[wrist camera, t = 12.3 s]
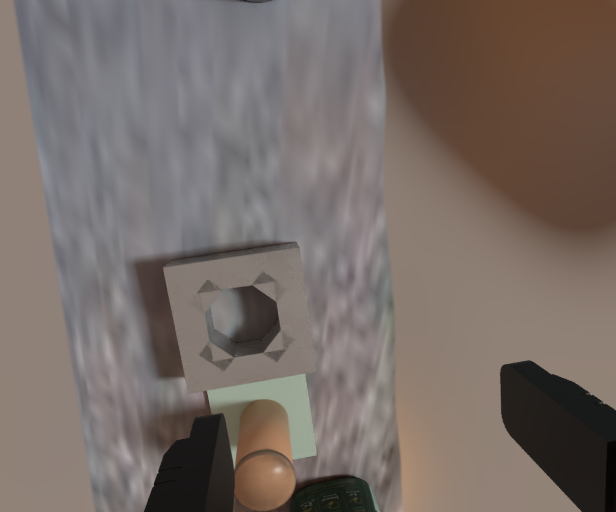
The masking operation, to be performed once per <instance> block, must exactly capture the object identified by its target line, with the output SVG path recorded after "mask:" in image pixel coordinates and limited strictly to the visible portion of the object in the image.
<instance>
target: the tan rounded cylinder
mask: <svg viewBox="0 0 616 512" xmlns="http://www.w3.org/2000/svg"><path fill="white" fill-rule="evenodd" d="M234 474H235V489H234V496H235V498H236V499H237V500H238V502H239V503H240V504H242V505H243V506H244V507H246V508H248V509H251V510H254V511H270V510H273V509H276V508H278V507H280V506H282V505H283V504H284V503H285V502H287V501H288V499H289V498H290V497H291V495H292V494H293V492H294V489H295V485H296V477H295V470H294V467H293V459H292V450H291V440H290V430H289V420H288V414H287V412H286V410H285V408H284V407H283V406H282V405H281V404H279V403H278V402H276V401H274V400H270V399H261V400H257V401H254V402H252V403H251V404H249V405H248V406H247V407H246V408H245V409H244V411H243V412H242V414H241V417H240V424H239V433H238V443H237V452H236V461H235V469H234Z"/></svg>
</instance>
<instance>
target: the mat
mask: <svg viewBox="0 0 616 512" xmlns="http://www.w3.org/2000/svg"><path fill="white" fill-rule="evenodd" d="M207 394H208V399H209V404H210V409H211V414H218V413H223V414H224V417H225V421H226V426H227V431H228V437H229V442H230V447H231V453H232V458H233V464H234V469H235V461H236V452H237V443H238V433H239V424H240V417H241V414H242V412H243V411H244V409H245V408H246V407H247V406H248V405H249V404H251V403H252V402H254V401H257V400H261V399H270V400H274V401H276V402H278V403H279V404H281V405H282V406H283V407H284V408H285V410H286V412H287V414H288V420H289V430H290V440H291V450H292V459H293V460H295V459H300V458H305V457H311V456H316V455H317V453H316V446H315V439H314V432H313V425H312V418H311V411H310V404H309V397H308V390H307V383H306V376H305V374H300V375H295V376H289V377H283V378H277V379H272V380H266V381H260V382H254V383H249V384H243V385H237V386H231V387H225V388H220V389H214V390H208V391H207Z"/></svg>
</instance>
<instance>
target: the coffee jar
mask: <svg viewBox="0 0 616 512" xmlns="http://www.w3.org/2000/svg"><path fill="white" fill-rule="evenodd" d="M290 512H380V511H379V507H378V504H377V501H376V497H375V495H374V492H373V490H372V488H371V486H370V485H369V484H368V483H367V482H366V481H364V480H362V479H360V478H341V479H333V480H328V481H324V482H320V483H316V484H313V485H310V486H307V487H305V488H303V489H301V490H300V491H299V492H297V493H296V495H295V496H294V498H293V499H292V502H291V505H290Z"/></svg>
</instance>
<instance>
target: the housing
mask: <svg viewBox="0 0 616 512" xmlns="http://www.w3.org/2000/svg"><path fill="white" fill-rule="evenodd" d="M163 271H164V276H165V281H166V286H167V291H168V296H169V301H170V305H171V310H172V315H173V320H174V325H175V330H176V335H177V340H178V345H179V350H180V355H181V360H182V365H183V370H184V375H185V380H186V384H187V389H188V394H191V393H197V392H202V391H208V390H214V389H220V388H225V387H231V386H237V385H243V384H249V383H254V382H260V381H266V380H272V379H277V378H283V377H289V376H295V375H300V374H306V373H312V372H317V371H316V363H315V356H314V349H313V342H312V334H311V327H310V320H309V312H308V305H307V298H306V291H305V283H304V276H303V269H302V262H301V254H300V247H299V246H298V244H297V242H293V243H287V244H280V245H273V246H266V247H259V248H253V249H246V250H239V251H232V252H225V253H218V254H212V255H205V256H198V257H191V258H184V259H178V260H172V261H170V262H169V263H168V264H167V265H165V266H164V267H163ZM250 285H253V286H254V287H256V288H257V289H258V290H260V291H261V292H263V293H264V294H266V295H267V296H268V297H270V298H271V299H273V300H274V301H276V302H277V309H278V315H279V319H278V320H277V322H276V323H275V324H274V326H273V327H272V328H271V329H270V331H269V332H268V333H267V335H266V336H265V337H264V339H259V340H253V341H247V342H241V343H235V342H234V341H232V340H231V339H229V338H228V337H226V336H225V335H223V334H222V333H220V332H219V331H217V330H216V329H214V325H213V319H212V314H211V308H210V305H211V304H212V303H213V301H214V300H215V299H216V297H217V296H218V295H219V293H220V292H221V291H222V290H224V289H231V288H237V287H244V286H250Z"/></svg>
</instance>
